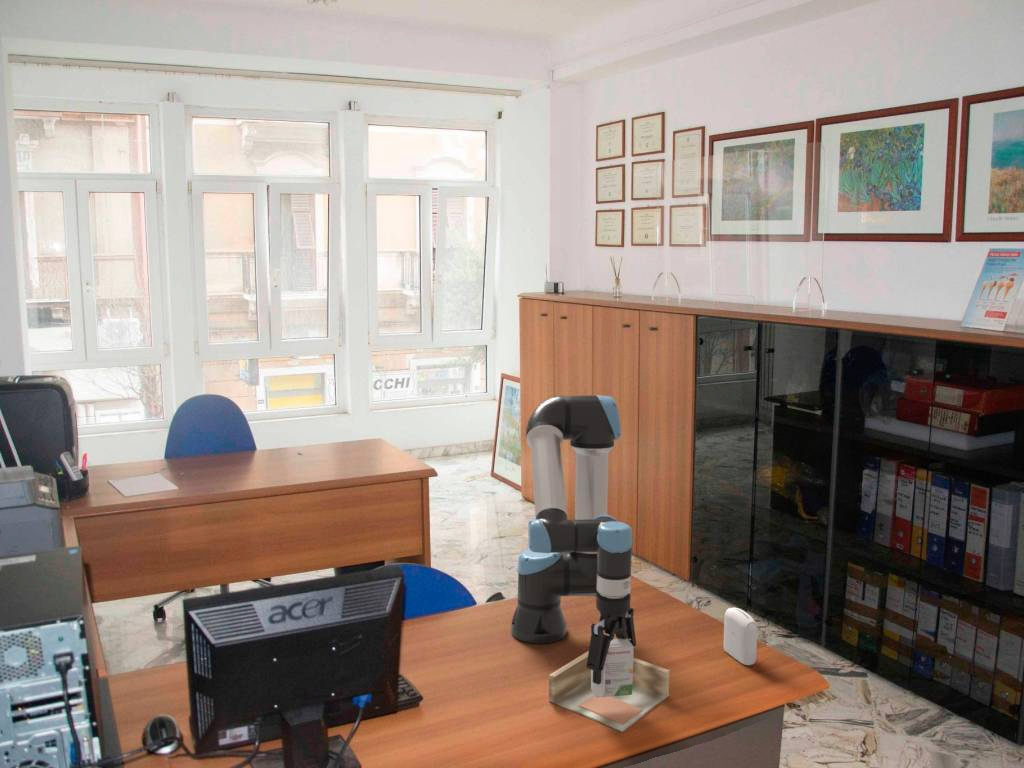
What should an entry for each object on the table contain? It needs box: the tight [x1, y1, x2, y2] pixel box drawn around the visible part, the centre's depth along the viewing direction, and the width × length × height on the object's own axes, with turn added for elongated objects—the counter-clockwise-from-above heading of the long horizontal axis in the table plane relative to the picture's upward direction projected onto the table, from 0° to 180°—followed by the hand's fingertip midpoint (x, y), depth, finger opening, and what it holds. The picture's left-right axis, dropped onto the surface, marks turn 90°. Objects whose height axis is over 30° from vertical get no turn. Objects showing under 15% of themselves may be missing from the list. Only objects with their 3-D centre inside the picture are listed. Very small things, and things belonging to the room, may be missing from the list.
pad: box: [579, 695, 643, 725], centre depth 198 cm, size 12×8×1 cm, turn 50°
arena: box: [548, 650, 670, 733], centre depth 202 cm, size 20×20×6 cm
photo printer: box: [723, 607, 758, 666], centre depth 223 cm, size 10×4×12 cm, turn 20°
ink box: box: [591, 637, 635, 698], centre depth 196 cm, size 8×5×12 cm, turn 100°
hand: (611, 687), depth 197 cm, fingers closed on ink box, 9 cm apart
